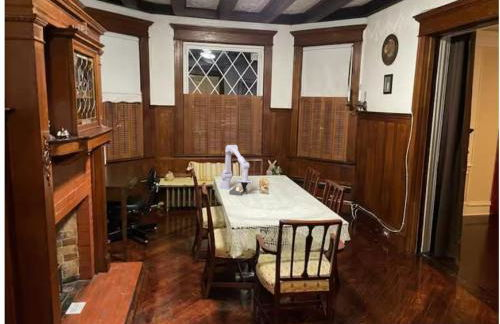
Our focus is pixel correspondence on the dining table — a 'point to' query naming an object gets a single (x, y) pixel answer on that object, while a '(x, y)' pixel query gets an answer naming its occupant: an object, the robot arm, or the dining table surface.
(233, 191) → the switch bank
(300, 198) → the dining table surface
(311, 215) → the dining table surface
